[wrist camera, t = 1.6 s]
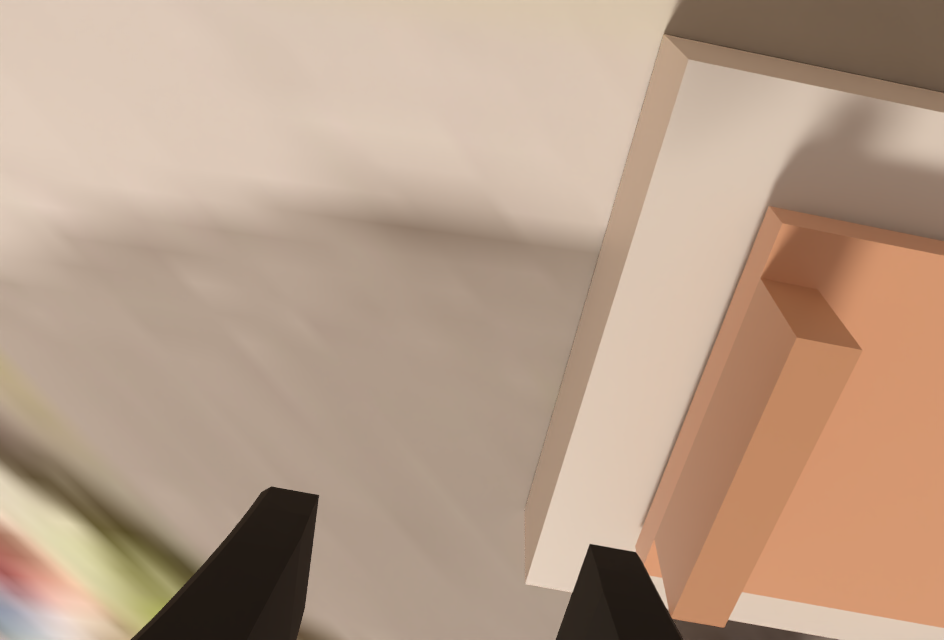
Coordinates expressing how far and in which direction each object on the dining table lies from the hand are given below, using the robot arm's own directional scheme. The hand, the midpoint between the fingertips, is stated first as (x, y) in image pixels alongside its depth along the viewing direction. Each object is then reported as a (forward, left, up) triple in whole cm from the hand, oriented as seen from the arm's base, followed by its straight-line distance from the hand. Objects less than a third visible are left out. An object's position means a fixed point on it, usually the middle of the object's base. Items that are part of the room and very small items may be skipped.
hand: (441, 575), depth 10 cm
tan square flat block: (-8, 0, -6) cm, 10 cm away
